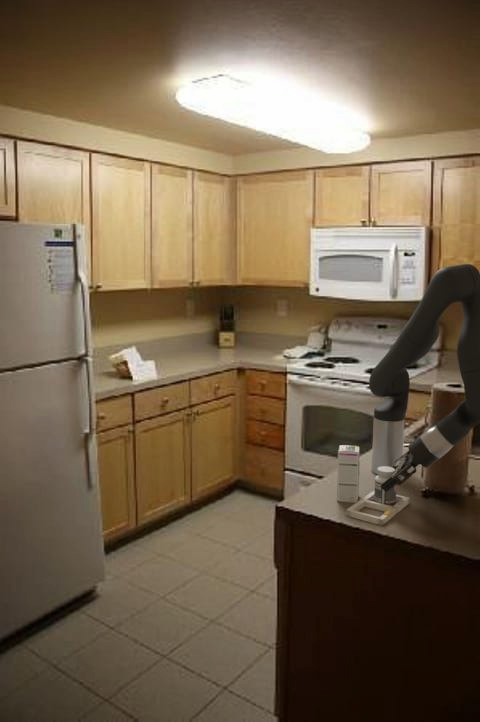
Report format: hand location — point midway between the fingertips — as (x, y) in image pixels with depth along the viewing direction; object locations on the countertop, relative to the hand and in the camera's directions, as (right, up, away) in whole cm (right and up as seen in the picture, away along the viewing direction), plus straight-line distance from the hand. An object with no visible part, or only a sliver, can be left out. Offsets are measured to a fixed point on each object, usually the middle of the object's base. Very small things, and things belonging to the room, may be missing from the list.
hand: (383, 483), depth 169 cm
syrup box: (-9, -5, +5) cm, 11 cm away
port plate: (-2, -6, -2) cm, 7 cm away
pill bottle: (0, -6, +1) cm, 6 cm away
